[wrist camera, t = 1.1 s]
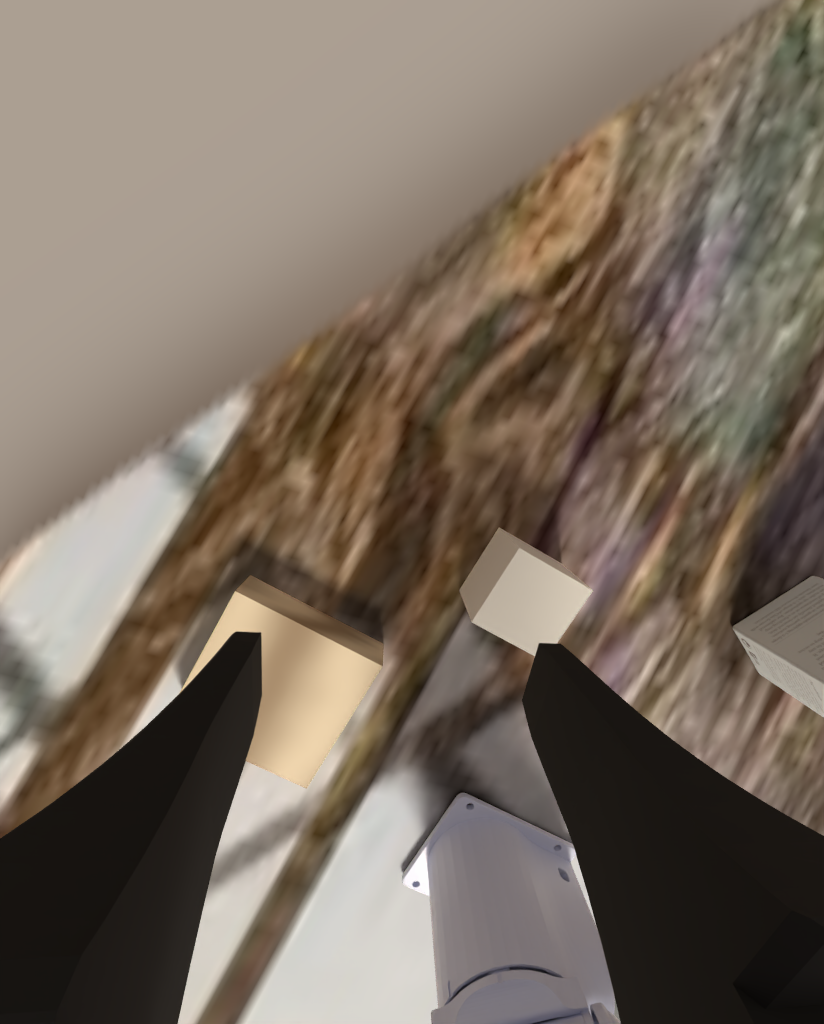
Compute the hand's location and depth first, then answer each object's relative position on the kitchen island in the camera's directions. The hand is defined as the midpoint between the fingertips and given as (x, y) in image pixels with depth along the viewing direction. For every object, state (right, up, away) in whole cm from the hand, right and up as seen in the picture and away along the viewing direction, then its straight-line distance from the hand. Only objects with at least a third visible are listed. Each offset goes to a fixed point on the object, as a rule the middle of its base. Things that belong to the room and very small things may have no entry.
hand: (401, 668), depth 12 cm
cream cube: (+6, 0, +16) cm, 17 cm away
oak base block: (-8, -6, +17) cm, 19 cm away
